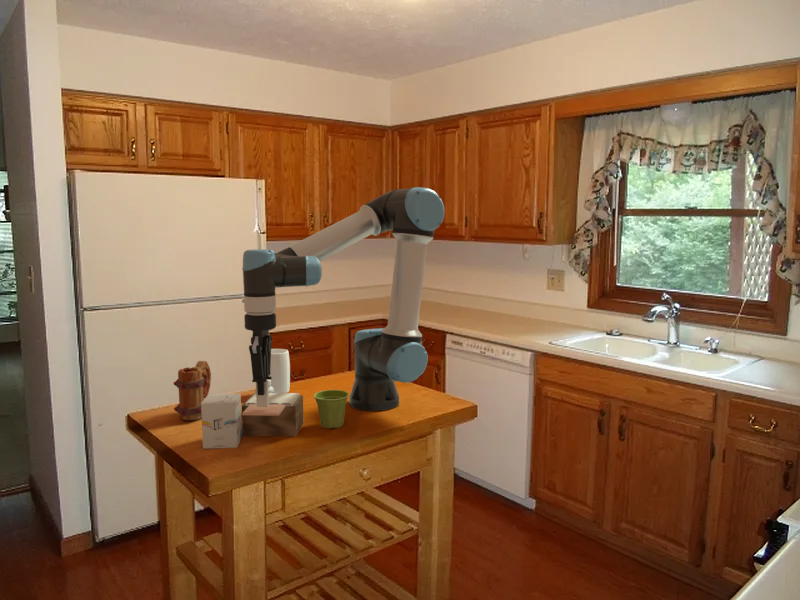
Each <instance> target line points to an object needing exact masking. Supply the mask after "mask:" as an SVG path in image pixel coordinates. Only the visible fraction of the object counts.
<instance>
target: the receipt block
mask: <svg viewBox="0 0 800 600" xmlns="http://www.w3.org/2000/svg"><path fill="white" fill-rule="evenodd" d="M250 404H256V393H255V392H254V393H253V394H252V395H250V397H249V398H248V399H246V401H245V402H244V403H243V404H241V415H242V413H243V412H244V411H245V410H246V409H247V407H248V406H249V405H250ZM269 405H285V408H284V409H283V411H282V412H281V413H280V415H279V416H264V415H242V437H243V436H245V437H246V436H249V437H250V436H251V437H254V436H255V437H258V436H259V437H297V435H298V434H299V432H300V430H302V427H303V426H304V423H305V421H304V418H305V417H304V395H302V394H300V392H298V393H297V392H287V393H269Z"/></svg>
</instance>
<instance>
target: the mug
mask: <svg viewBox="0 0 800 600" xmlns="http://www.w3.org/2000/svg"><path fill="white" fill-rule="evenodd" d="M211 380H212V373H211V369H210V366H209V363H208V361H205V360H198V361H197V362H196V364H195V366H192V367H183V368H181V369H179V370H178V371H177V379H176V381H174V382H173V386H175V387H176V388H178V403H177V405H176V406H175V407H174V408H173V409H174V411H175V412H176V413H177V414H178V415H179V418H180V419H181V420H183V421H186V422H187V421H197V420H200V419H202V412H201V403H202V401H203V400H204V399H205V398H206V397H207V396H208V395H209V392H210V388H211Z"/></svg>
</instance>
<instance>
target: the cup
mask: <svg viewBox="0 0 800 600" xmlns="http://www.w3.org/2000/svg"><path fill="white" fill-rule="evenodd" d="M270 372H271V373H270V375H269V377H272V378H271V385H270V386H271V387H273V388H274V393H290V392H289V391H290V387H291V386H290V385H291V383H290V382H291V362H290V354H289V350H288V349H285V348H271V367H270Z"/></svg>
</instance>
